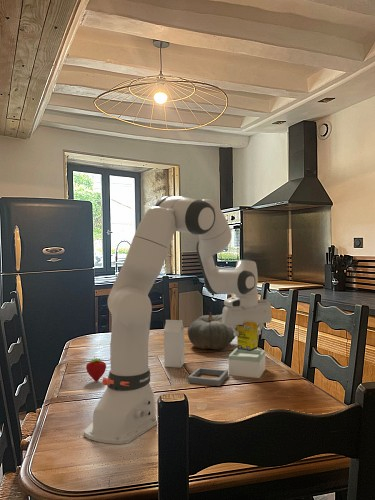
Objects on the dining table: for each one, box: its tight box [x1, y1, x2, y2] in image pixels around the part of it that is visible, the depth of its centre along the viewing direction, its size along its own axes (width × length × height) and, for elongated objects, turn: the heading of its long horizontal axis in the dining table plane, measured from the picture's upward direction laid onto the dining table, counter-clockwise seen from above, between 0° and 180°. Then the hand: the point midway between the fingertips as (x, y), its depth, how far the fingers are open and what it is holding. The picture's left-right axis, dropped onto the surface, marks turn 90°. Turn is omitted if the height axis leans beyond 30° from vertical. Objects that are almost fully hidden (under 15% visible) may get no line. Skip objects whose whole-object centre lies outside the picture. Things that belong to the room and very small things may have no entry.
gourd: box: [187, 311, 237, 351], centre depth 198 cm, size 25×25×17 cm
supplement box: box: [236, 322, 259, 351], centre depth 158 cm, size 6×6×11 cm
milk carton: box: [163, 319, 186, 368], centre depth 169 cm, size 7×7×19 cm
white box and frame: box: [187, 347, 266, 387], centre depth 155 cm, size 25×24×8 cm
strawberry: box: [85, 356, 107, 382], centre depth 150 cm, size 6×8×10 cm
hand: (247, 335), depth 158 cm, fingers closed on supplement box, 8 cm apart
